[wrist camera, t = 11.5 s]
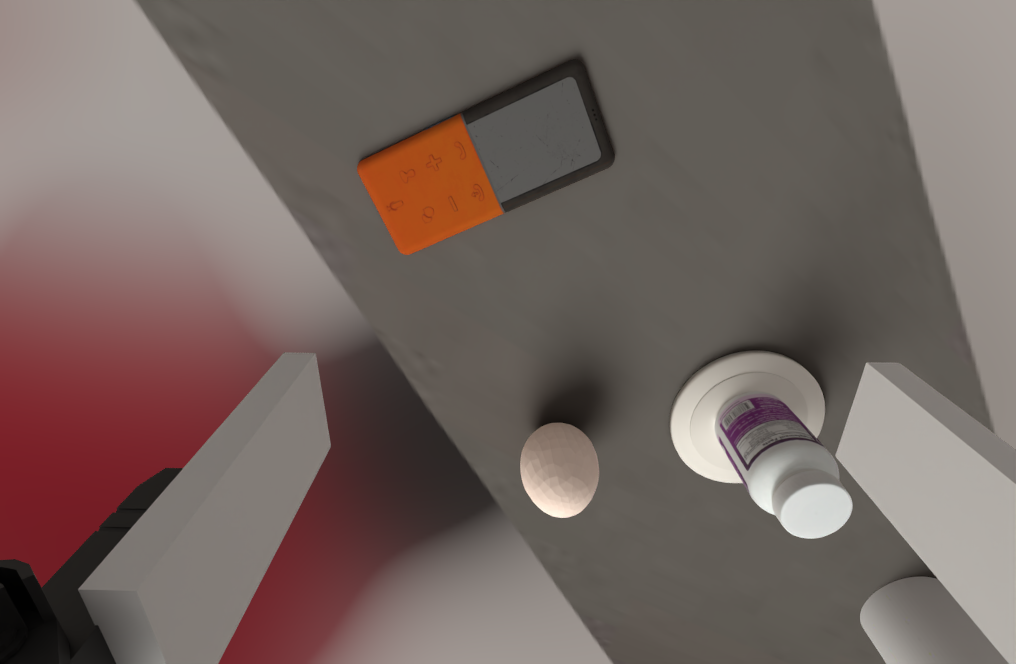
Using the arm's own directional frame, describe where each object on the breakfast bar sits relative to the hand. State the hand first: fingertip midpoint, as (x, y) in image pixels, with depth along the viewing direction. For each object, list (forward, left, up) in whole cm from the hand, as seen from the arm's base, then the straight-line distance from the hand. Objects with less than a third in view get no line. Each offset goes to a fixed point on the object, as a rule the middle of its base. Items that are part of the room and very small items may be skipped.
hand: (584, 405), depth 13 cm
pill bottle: (+14, +16, -22) cm, 31 cm away
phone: (-3, -4, -24) cm, 25 cm away
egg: (+17, +2, -24) cm, 29 cm away
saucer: (+14, +16, -23) cm, 32 cm away
